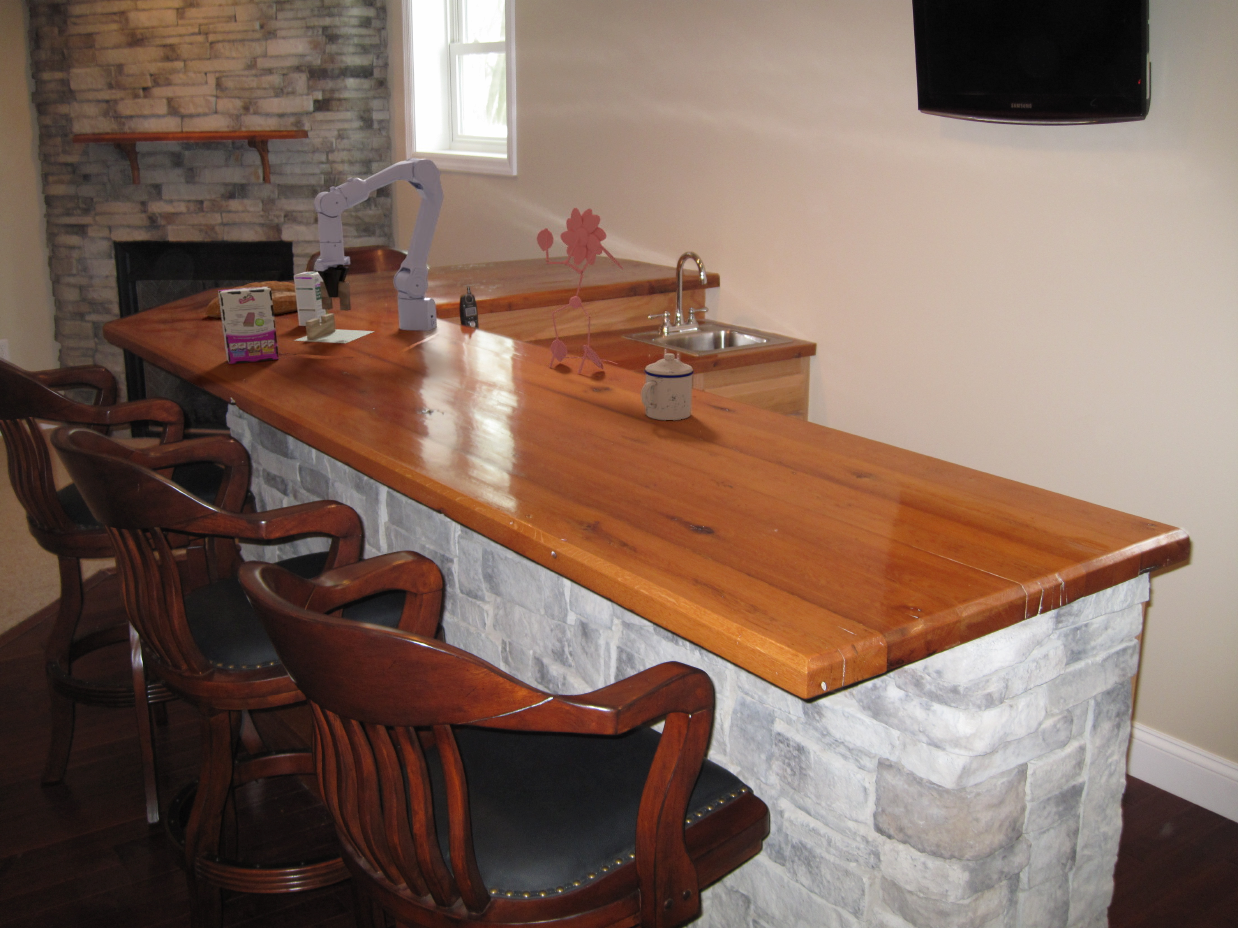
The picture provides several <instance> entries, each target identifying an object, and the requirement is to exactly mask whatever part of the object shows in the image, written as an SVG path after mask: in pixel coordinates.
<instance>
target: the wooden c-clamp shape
mask: <svg viewBox="0 0 1238 928" xmlns="http://www.w3.org/2000/svg"><path fill="white" fill-rule="evenodd" d="M320 287H321V301H322V309H327V311H328V310H332V309H334V308H333V307H334V306H333V297H329V296H328V293H327V290H326V287H325V284H324V282H323V281H320ZM350 290H351V289H350V282H349V281H345V282H342V281H339V283H338V297H337V299H338V298H339V310H340V311H346V312H347V311H350V310H351V309H352V305H351V304H352V303H351V291H350Z"/></svg>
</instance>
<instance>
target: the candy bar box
mask: <svg viewBox="0 0 1238 928" xmlns="http://www.w3.org/2000/svg"><path fill="white" fill-rule="evenodd" d="M217 292H218V293H217V295H218V296H219V302H220V310H221V318H220V319H221V323H222V325H221V326H222V332H223V338H224V339H223V340H224V349H225V355H226V361H227V362H228V364H230V365H235V364H244V363H254V362H255V363H256V362H265V361H275V360H279V359H280V358H279V357H280V355H279V346H278V338H277V330H276V329H277V328H276V320H275V319H276V318H275V315H274V310H273V302H272V292H271V289H270V288H269V287H255V288H241V289H233V288H230V289H218V290H217Z"/></svg>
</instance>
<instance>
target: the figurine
mask: <svg viewBox="0 0 1238 928" xmlns="http://www.w3.org/2000/svg"><path fill="white" fill-rule="evenodd" d="M565 223H566V225H565V226H566V230H565V231H563V232H561V234H560V239H561V241H562V243H563V244H564V245H566V246H567V247H566V254H567V258H566V259H565V260H564V261H550V259H549V258H550V257H549V255H550V254H549V249H550V248H552V247H553V244H554V236H553V233H552V232H551V231H550V230H549V228H547V227H545V228H544V229H541V230H540V231H539V232H538V233H537V236H536V242H537V245H538V246H539V248H540V249H541V251H543V252H545V257H546V258H545V260H546V265H563V264H564V266H569V268H571V269H572V270H574V271H575V272H576V273H578V274H580V278H579V281H578V285H577V290H576V294H575V296H572V297H570V298H569V300H568V301H569V302H568V303H569V304H566V305H565V306H562V307H561V308H558V309H556V310H554V311H552V312H551V315H552V316H551V317H552V322H553V327H554V332H555V340H553V341H552V343H551V345H550V352H551V354H552V355H551V356H552V357H551V360H550V362H549V366H548V368H552V366H553V363H554V360H555V359H556V360H557V361H558V362H559V363H561V362H562V361H564V359H567V358H569V359H570V358H571V359H572V358H573V359H574V358H577V359H582V360H581V362H580V366H579V369H578V373H577V374H581V373H582V370H583V367H584V364H585V361H586V359H587V358H588V359H589V360H590V361H591V362H592V363H593V364H595V366H597V367H598V368H599V369H601V370H604V365H603V362H602V361H604V362H605V361H606V362H609V363H613V364H616V365H618V363H616V362H614V361H611V360H608V359H605V358H600V356H599V355H598V354H597V353H596V351H594V350H593V349H592V348H591V347H590V333H591V316H590V315H589V313H588V312H587V310H586V309H585V307H584V306H583V304H582V299H581V298H580V297H579V292H580V288H581V285H582V282H583V278H584V272H585V270H586V269H587V267H588V266H594V264H595V263H596V259H597V256H601V255H602V254H603V253H604V254H605V255H606V256H607V257H608V258H609V259H610V260H611V261H612V262H613V263H614V264H615V265H616V266H618V268H620V269H621V270H623V269H624V268H623V266H622V265H621V264H620V263H619V261H618V260H617V259H616V258H615V257H614V256H613V255H612V253H610V251H609V250H608V249H606V248H605V247H604V246H603V245H602V243H601V242H603V241H604V240H606V238H607V233H606V231H605V230H604V228H602V227H600V226H599V224H600V223H601V217H600V216H599V215H598V214H593V210H592V208H586V210H584V211H583V212H582V214H581V212H580V210H579V209H578V208H577V207H573V209H572V210H571V213H570V218H567V219H566V222H565ZM571 257H573V259H572V260H573V264H574V265H573V264H572V263H570V262H569V261H570V260H571ZM585 260H586V262H585V264H584V266H583V267H582V268H581V269H580V268H578V267H577V266H580V265H581V264H582V263H583V262H584V261H585ZM567 307H571V308H572V309H579V308H581V309H582V310H583V312H584V313H585V314H586V316H587V317H588V326H587V327H588V329H587V331H588V332H587V344H584V345H583V346H582V350H583V351H584V354H583V356H567V353H568V350H567V349H568V348H567V346H566V345H565V343H564V342H563V341H562V340H560V339H559V337H558V335H559V334H558V329H557V325H556V320H555V315H554V314H555V313H557V312H559V311H562V310H563V309H566V308H567ZM595 377H596V378H599V377H600V375H596V376H595Z"/></svg>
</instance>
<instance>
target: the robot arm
mask: <svg viewBox="0 0 1238 928" xmlns="http://www.w3.org/2000/svg"><path fill="white" fill-rule="evenodd" d="M441 174H442V173H441V171H440V169H439V167H438V166H437V165H436V164H435V162H434V161H433V160H431V159H430V158H429V159H428V158H416V157H410V158H407V159H406V160H401V161H398V162H396V163H394V164H391V165H390V166H388V167H386V168H384V169H382V170H380V171H378V172H377V173H374V174H373V175H371V176H369V177H367V178H365V179H361V178H359V177H355V178H354V177H348V178H346V182H344V183H342V184H340V185H337V186H331V187H329V189H330V190H329V191H322V192H319V193H318V194H317V195H316V197H315V198H314V202H313V203H312V206H313V208H314V210H315V212H316V213H317V220H318V222H317V227H318V228H317V229H318V238H319V252H320V253H319V254H320V258H317V259H316V262H314V266H315V267H314V270H315V271H314V272H318V273H319V275H320V276H321V278H322V280H323V282H324V284H325V287H326V290H327V293H328V296H329V297H332V298H333V299H335V298H337V297H338V283H339V281H342V282H346V278H347V275H348V273H349V270H350V268H349V265H351V256H345V247H344V236H343V235H344V233H343V222H342V214H343V212H344V210H347V209H350V208H352V207H354V206H357V205H358V204H361V203H363V202H364V201H366V200H367V201H368V198H369V197H370V194H371V192H373V191H376V190H378V189H381V188H383V187H385V186H387V185H390V184H392V183H395V182H397V181H406V182H408V183H409V184H410V185H411V186H412V187H414V188H415V191H416V192H417V193H418V195H419V197H420V198H421V199H420V205H419V208H418V212H417V215H416V220H415V223H414V227H413V231H412V235H411V238H410V243H409V246H408V249H407V254H406V257H405V259H404V260H403V261H402V262H401V263H400V267H399V269H398V270H397V272H396V273H395V275H394V276H393V285H394V288H395V290H397V309H398V310H397V311H398V325H399V329H400V330H403V331H427V332H428V331H431V330H433V329H435V328H437V327H438V325H437V324H438V323H437V305H436V301H435V299H434V298H431V297H426V293H427V291H428V290H429V289H428V288H429V282H428V275H429V269H428V265H427V263H428V258H429V253H430V250H431V246H432V242H433V239H434V235H435V232H436V228H437V226H438V225H437V224H438V221H439V217H440V214H441V213H440V212H441V209H442V205H443V202H444V198H445V197H444V192H443V187H442V186H443V185H442V182H441ZM345 265H346V266H345ZM347 265H348V266H347ZM337 299H338V298H337Z"/></svg>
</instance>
